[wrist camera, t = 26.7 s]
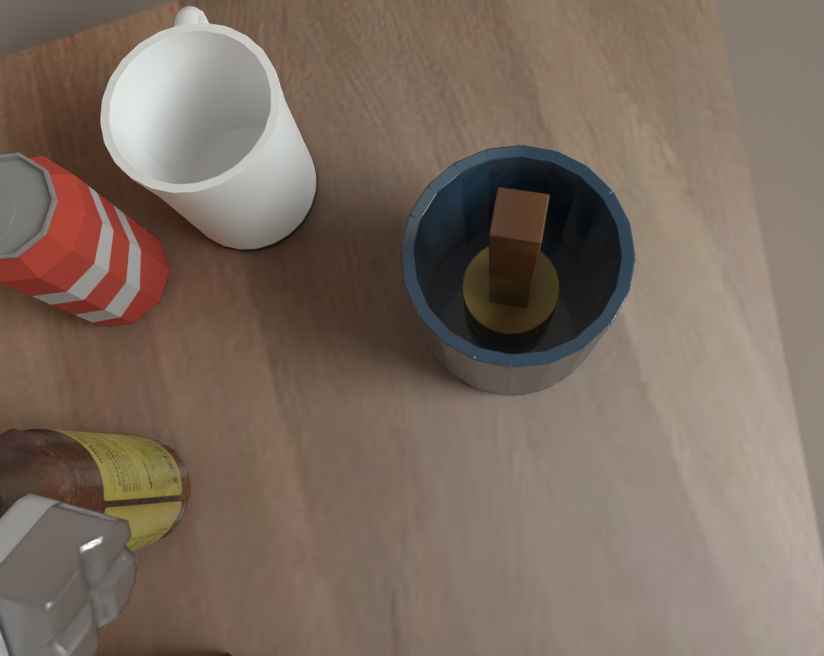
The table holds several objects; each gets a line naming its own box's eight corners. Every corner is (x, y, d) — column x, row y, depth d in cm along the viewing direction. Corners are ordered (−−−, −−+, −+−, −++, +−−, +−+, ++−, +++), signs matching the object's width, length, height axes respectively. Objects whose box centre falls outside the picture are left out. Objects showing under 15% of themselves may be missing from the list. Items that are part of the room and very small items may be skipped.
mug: (333, 245, 45) (290, 174, 35) (188, 270, 46) (105, 208, 36) (312, 81, 48) (265, -29, 38) (175, 106, 48) (93, 5, 38)
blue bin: (615, 239, 44) (652, 166, 34) (582, 413, 42) (611, 389, 32) (441, 207, 45) (429, 128, 35) (402, 374, 43) (378, 339, 33)
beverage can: (61, 318, 46) (-85, 258, 34) (94, 219, 47) (-35, 129, 35) (153, 340, 45) (36, 286, 33) (185, 239, 46) (83, 153, 34)
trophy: (560, 268, 43) (595, 163, 29) (546, 354, 42) (575, 287, 28) (472, 254, 43) (466, 144, 30) (456, 338, 42) (442, 265, 29)
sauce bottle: (101, 431, 44) (-199, 385, 25) (204, 443, 43) (-22, 405, 24) (78, 548, 43) (-257, 595, 23) (184, 562, 42) (-71, 623, 23)
